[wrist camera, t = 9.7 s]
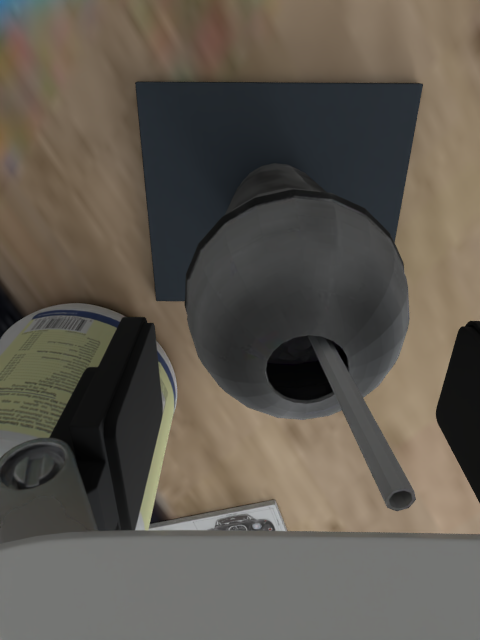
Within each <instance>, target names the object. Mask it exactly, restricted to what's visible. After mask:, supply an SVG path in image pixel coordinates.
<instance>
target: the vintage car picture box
mask: <svg viewBox="0 0 480 640" xmlns="http://www.w3.org/2000/svg"><path fill="white" fill-rule="evenodd" d="M148 530H221V531H287V528H286V526H285V523H284V521H283V518H282V516H281V513H280V511H279V508H278V506H277V503H276V501H275V500H271V501H266V502H261V503H256V504H250V505H245V506H240V507H235V508H230V509H225V510H220V511H215V512H209V513H204V514H199V515H194V516H189V517H184V518H179V519H174V520H168V521H163V522H158V523H153V524H150V525H149V529H148Z"/></svg>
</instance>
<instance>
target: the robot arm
mask: <svg viewBox="0 0 480 640" xmlns="http://www.w3.org/2000/svg"><path fill="white" fill-rule="evenodd" d="M162 415H163V404H162V394H161V384H160V374H159V364H158V354H157V345H156V335H155V326H154V324H153V323H147V320H146V318H145V317H123V318H122V319H121V321H120V323H119V325H118V327H117V329H116V331H115V333H114V335H113V337H112V339H111V341H110V343H109V345H108V347H107V349H106V352H105V354H104V356H103V358H102V360H101V362H100V364H99V366H98V367H88V368H86V370H85V371H84V373H83V374H82V376H81V378H80V380H79V382H78V384H77V386H76V388H75V390H74V391H73V393H72V395H71V397H70V399H69V401H68V403H67V405H66V407H65V408H64V410H63V412H62V414H61V416H60V418H59V420H58V422H57V424H56V425H55V427H54V429H53V431H52V433H51V435H50V437H49V438H37V439H33V440H28V441H26V442H23V443H21V444H19V445H16V446H15V447H13V448H12V449H10V450H9V451H7V452H6V453H5V454H4V455H3V456H2V457H1V458H0V640H480V534H440V533H380V532H314V531H221V530H135V529H136V525H137V521H138V517H139V513H140V509H141V504H142V500H143V496H144V492H145V488H146V484H147V479H148V475H149V471H150V467H151V463H152V459H153V454H154V450H155V446H156V442H157V438H158V434H159V429H160V425H161V421H162ZM436 419H437V422H438V425H439V427H440V428H441V430H442V432H443V434H444V436H445V438H446V440H447V442H448V444H449V445H450V447H451V449H452V451H453V453H454V455H455V457H456V459H457V461H458V463H459V464H460V466H461V468H462V470H463V472H464V474H465V476H466V478H467V480H468V482H469V483H470V485H471V487H472V489H473V491H474V493H475V495H476V497H477V499H478V501H479V502H480V321H470V322H468V323H467V324H466V326H465V327H461V328H460V329H459V331H458V334H457V337H456V341H455V345H454V348H453V352H452V355H451V359H450V362H449V366H448V369H447V373H446V377H445V380H444V384H443V387H442V391H441V394H440V398H439V401H438V405H437V409H436Z"/></svg>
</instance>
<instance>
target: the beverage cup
mask: <svg viewBox="0 0 480 640" xmlns="http://www.w3.org/2000/svg"><path fill="white" fill-rule="evenodd" d="M185 308H186V312H187V315H188V317H187V320H188V325H189V329H190V332H191V335H192V338H193V342H194V345H195V348H196V351H197V354H198V357H199V358H200V360H201V362H202V364H203V365H204V367H205V368H206V369H207V371H208V372H209V373H210V374H211V376H212V377H213V378H214V380H215V381H216V382H217V384H218V385H219V386H220V387H221V388H222V389H223V390H224V391H225V392H227V393H228V394H229V395H231V396H232V397H234V398H235V399H237V400H238V401H239V402H241V403H242V404H244V405H245V406H247V407H248V408H251V409H254V410H257V411H260V412H263V413H266V414H269V415H271V416H274V417H277V418H288V419H300V420H305V419H311V418H317V417H324V416H329V415H332V414H334V413H336V412H339V411H341V410H342V411H343V413H344V415H345V418H346V420H347V422H348V424H349V426H350V428H351V430H352V433H353V435H354V437H355V439H356V441H357V443H358V445H359V448H360V450H361V452H362V454H363V456H364V458H365V460H366V463H367V465H368V467H369V469H370V471H371V473H372V476H373V478H374V480H375V482H376V484H377V486H378V488H379V491H380V493H381V495H382V497H383V499H384V501H385V503H386V506H387V508H390V509H392V510H395V511H399V510H403V509H407V508H409V507H410V506H411V505H412V504H413V502H414V501H415V500H416V498H415V493H414V490H413V488H412V487H411V485H410V483H409V481H408V479H407V477H406V476H405V474H404V472H403V470H402V468H401V467H400V465H399V463H398V461H397V459H396V457H395V456H394V454H393V452H392V450H391V448H390V447H389V445H388V443H387V441H386V439H385V437H384V436H383V434H382V432H381V430H380V428H379V427H378V425H377V423H376V421H375V419H374V417H373V416H372V414H371V412H370V410H369V408H368V406H367V405H366V403H365V401H364V399H363V397H365V396H366V395H367V394H369V393H370V392H371V391H373V390H374V389H375V388H376V387H378V386H379V384H380V383H381V382H382V380H383V379H384V378H385V376H386V375H387V374H388V372H389V371H390V369H391V368H392V367H393V365H394V364H395V362H396V360H397V359H398V357H399V354H400V351H401V348H402V345H403V342H404V339H405V335H406V332H407V329H408V324H409V300H408V285H407V279H406V276H405V274H404V265H403V261H402V259H401V257H400V254H399V252H398V250H397V248H396V245H395V243H394V241H393V239H392V236H391V234H390V232H388V231H387V230H386V229H385V228H384V227H383V226H382V225H381V224H380V223H379V222H378V221H377V220H376V219H375V218H374V217H373V216H372V215H371V214H370V213H369V212H368V211H367V210H366V209H365V208H363V207H361V206H359V205H357V204H355V203H352V202H350V201H348V200H346V199H344V198H341V197H339V196H337V195H335V194H333V193H327V192H326V191H325V190H324V189H323V188H322V187H321V186H319V185H318V184H317V183H316V182H315V181H314V180H313V179H311V178H310V177H309V176H308V175H307V174H306V173H304V172H302V171H300V170H298V169H296V168H294V167H292V166H290V165H287V164H277V163H273V164H269V165H264V166H261V167H259V168H257V169H256V170H254V171H252V172H251V173H249V175H248V176H247V177H246V178H245V179H244V180H243V181H242V183H241V184H240V186H239V187H238V188H237V190H236V192H235V194H234V196H233V198H232V201H231V203H230V205H229V207H228V209H227V211H226V214H225V215H224V216H222V217H221V218H220V220H219V221H218V222H217V223H216V224H215V225H214V226H213V228H212V229H211V230H210V231H209V232H208V233H207V234H206V235H205V237H204V238H203V239H202V240H201V241H200V242H199V243H198V246H197V248H196V251H195V253H194V256H193V258H192V261H191V263H190V265H189V268H188V270H187V273H186V285H185Z"/></svg>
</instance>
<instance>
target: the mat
mask: <svg viewBox="0 0 480 640" xmlns="http://www.w3.org/2000/svg"><path fill="white" fill-rule="evenodd" d="M135 84H136V95H137V105H138V115H139V126H140V136H141V147H142V157H143V167H144V178H145V188H146V199H147V209H148V219H149V230H150V240H151V251H152V261H153V271H154V282H155V292H156V301H185V285H186V273H187V270H188V268H189V265H190V263H191V261H192V258H193V256H194V253H195V251H196V248H197V246H198V243H199V242H200V241H201V240H202V239H203V238H204V237H205V235H206V234H207V233H208V232H209V231H210V230H211V229H212V228H213V226H214V225H215V224H216V223H217V222H218V221H219V220H220V218H221V217H222V216H224V215H225V214H226V211H227V209H228V207H229V205H230V203H231V201H232V198H233V196H234V194H235V192H236V190H237V188H238V187H239V186H240V184H241V183H242V181H243V180H244V179H245V178H246V177H247V176H248V175H249V173H251V172H252V171H254V170H256V169H257V168H259V167H261V166H264V165H269V164H273V163H277V164H287V165H290V166H292V167H294V168H296V169H298V170H300V171H302V172H304V173H306V174H307V175H308V176H309V177H310V178H311V179H313V180H314V181H315V182H316V183H317V184H318V185H319V186H321V187H322V188H323V189H324V190H325V191H326V192H327V193H333V194H335V195H337V196H339V197H341V198H344V199H346V200H348V201H350V202H352V203H355V204H357V205H359V206H361V207H363V208H365V209H366V210H367V211H368V212H369V213H370V214H371V215H372V216H373V217H374V218H375V219H376V220H377V221H378V222H379V223H380V224H381V225H382V226H383V227H384V228H385V229H386V230H387V231H388V232H390V234H391V236H392V239H393V241H394V242H395V237H396V231H397V225H398V220H399V214H400V209H401V203H402V198H403V192H404V187H405V181H406V175H407V170H408V164H409V159H410V153H411V148H412V142H413V137H414V131H415V126H416V120H417V114H418V109H419V103H420V98H421V92H422V87H423V84H420V83H274V82H136V83H135Z"/></svg>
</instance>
